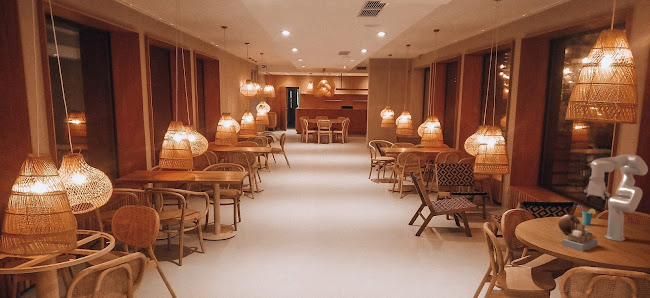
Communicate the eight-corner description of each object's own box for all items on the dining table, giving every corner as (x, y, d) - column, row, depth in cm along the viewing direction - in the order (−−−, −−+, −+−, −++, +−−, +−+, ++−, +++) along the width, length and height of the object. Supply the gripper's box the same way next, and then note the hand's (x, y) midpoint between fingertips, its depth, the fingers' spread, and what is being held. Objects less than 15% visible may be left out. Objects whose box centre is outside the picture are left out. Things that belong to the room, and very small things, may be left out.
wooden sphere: (557, 230, 335) (558, 211, 333) (579, 232, 328) (580, 213, 326) (558, 235, 322) (559, 216, 320) (580, 238, 315) (582, 218, 313)
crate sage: (582, 233, 303) (582, 227, 303) (588, 234, 300) (588, 229, 300) (579, 234, 301) (579, 228, 301) (585, 235, 298) (585, 230, 297)
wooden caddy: (580, 236, 306) (581, 221, 305) (592, 239, 300) (593, 224, 298) (567, 240, 297) (568, 225, 296) (579, 243, 291) (580, 228, 289)
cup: (575, 224, 351) (576, 206, 349) (575, 221, 357) (577, 204, 355) (594, 226, 343) (596, 208, 341) (595, 224, 349) (596, 206, 347)
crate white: (575, 235, 298) (575, 230, 298) (581, 237, 295) (581, 231, 295) (572, 236, 296) (572, 231, 296) (578, 238, 293) (578, 232, 292)
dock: (576, 240, 310) (576, 234, 310) (597, 245, 298) (597, 239, 298) (561, 245, 299) (562, 239, 299) (582, 251, 288) (582, 245, 287)
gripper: (581, 178, 301) (580, 201, 303) (608, 182, 286) (606, 206, 288) (587, 177, 305) (585, 200, 307) (613, 181, 290) (611, 205, 292)
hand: (595, 203), depth 298 cm, fingers open, 9 cm apart
